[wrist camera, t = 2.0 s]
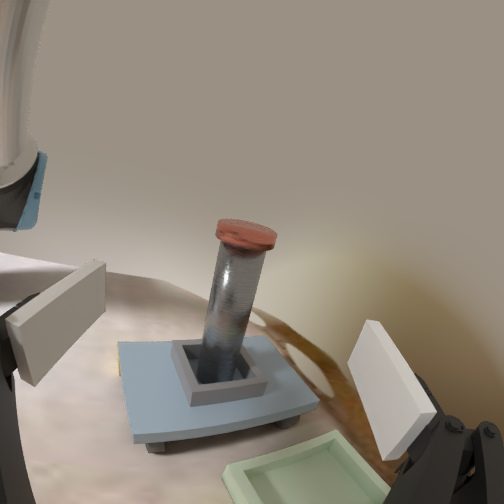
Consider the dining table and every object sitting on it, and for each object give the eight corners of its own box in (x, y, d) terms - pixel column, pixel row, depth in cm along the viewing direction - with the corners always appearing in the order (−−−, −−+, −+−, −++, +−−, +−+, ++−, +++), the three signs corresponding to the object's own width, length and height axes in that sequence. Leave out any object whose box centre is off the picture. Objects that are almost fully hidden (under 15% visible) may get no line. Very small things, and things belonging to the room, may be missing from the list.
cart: (117, 359, 31) (116, 311, 29) (247, 352, 40) (259, 310, 38) (136, 462, 19) (131, 419, 17) (303, 429, 27) (327, 386, 25)
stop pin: (185, 362, 27) (210, 216, 23) (227, 359, 30) (260, 222, 25) (199, 395, 24) (231, 234, 19) (245, 388, 26) (288, 239, 21)
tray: (221, 478, 20) (227, 464, 19) (325, 444, 25) (336, 428, 24) (285, 580, 10) (299, 577, 9) (390, 518, 15) (408, 505, 14)
